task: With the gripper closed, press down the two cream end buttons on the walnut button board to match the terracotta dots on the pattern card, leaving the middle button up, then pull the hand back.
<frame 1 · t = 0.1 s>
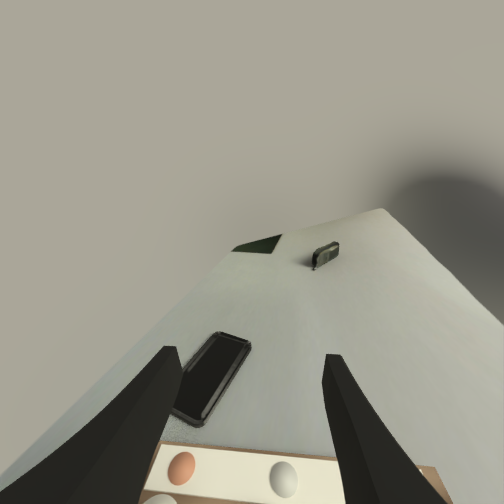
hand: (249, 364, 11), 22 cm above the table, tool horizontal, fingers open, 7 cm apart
pattern card: (283, 480, 22), resting on button board
mobile phone: (324, 262, 71), on the table
phone: (210, 373, 36), on the table
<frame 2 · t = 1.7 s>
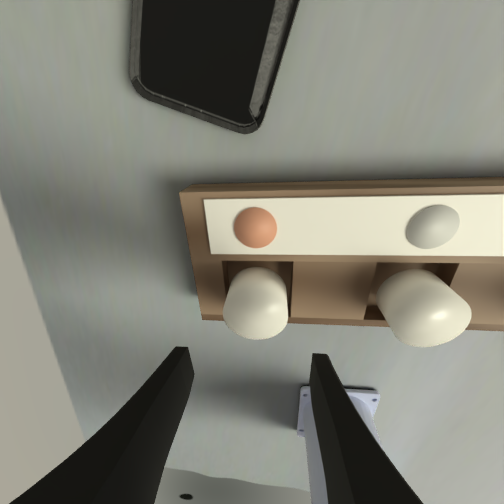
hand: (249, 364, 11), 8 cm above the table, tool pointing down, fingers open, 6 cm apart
end button 1: (256, 302, 15), point 4 cm above the table, slide at 0.0 cm
pattern card: (429, 226, 13), resting on button board
middle button: (418, 307, 14), point 4 cm above the table, slide at 0.0 cm
button board: (397, 250, 17), on the table
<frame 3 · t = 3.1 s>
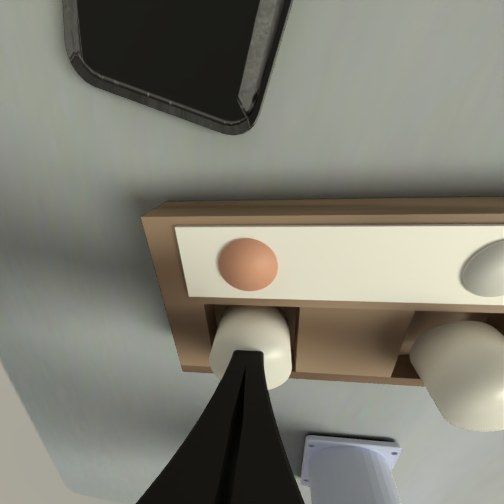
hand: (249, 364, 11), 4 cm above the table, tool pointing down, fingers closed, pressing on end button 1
end button 1: (252, 344, 12), point 3 cm above the table, slide at 1.1 cm, touching gripper
pattern card: (495, 266, 9), resting on button board
middle button: (473, 374, 10), point 4 cm above the table, slide at 0.0 cm
button board: (434, 286, 13), on the table
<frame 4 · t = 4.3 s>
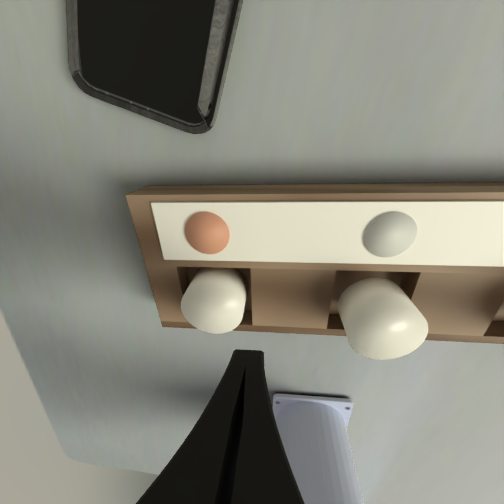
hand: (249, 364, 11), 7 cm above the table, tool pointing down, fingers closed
end button 1: (216, 298, 16), point 3 cm above the table, slide at 1.3 cm
pattern card: (387, 233, 12), resting on button board
middle button: (377, 318, 13), point 4 cm above the table, slide at 0.0 cm
button board: (362, 257, 16), on the table
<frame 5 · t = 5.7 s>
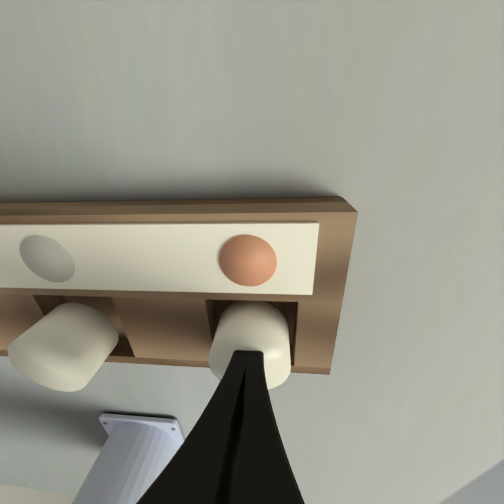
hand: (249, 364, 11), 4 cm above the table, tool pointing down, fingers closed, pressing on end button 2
pattern card: (51, 257, 12), resting on button board
end button 2: (251, 344, 12), point 3 cm above the table, slide at 0.7 cm, touching gripper
middle button: (68, 346, 13), point 4 cm above the table, slide at 0.0 cm
button board: (103, 276, 15), on the table
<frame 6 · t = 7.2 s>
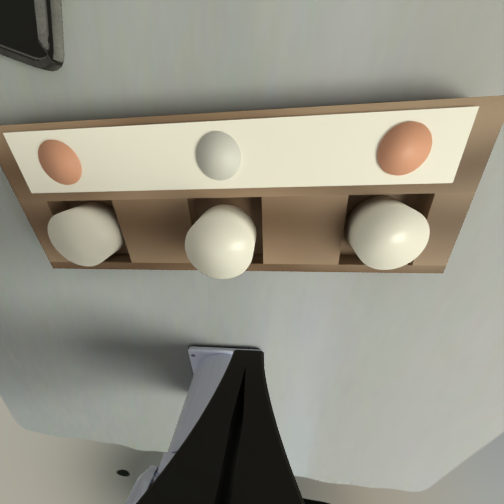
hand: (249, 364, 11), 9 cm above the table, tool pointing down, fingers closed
end button 1: (90, 233, 17), point 3 cm above the table, slide at 1.3 cm
pattern card: (219, 156, 13), resting on button board
end button 2: (382, 232, 14), point 3 cm above the table, slide at 1.3 cm
middle button: (223, 241, 14), point 4 cm above the table, slide at 0.0 cm
button board: (231, 194, 17), on the table
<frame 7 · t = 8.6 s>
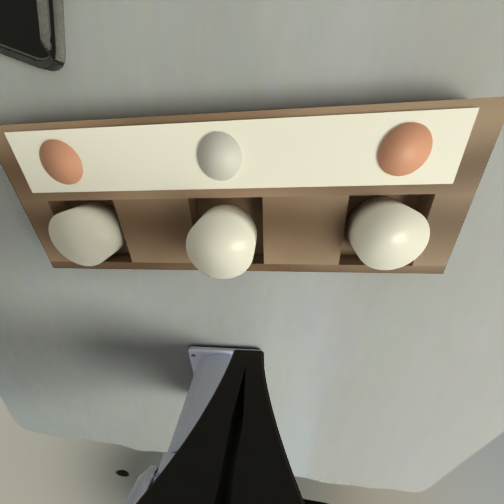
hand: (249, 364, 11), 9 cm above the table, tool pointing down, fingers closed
end button 1: (91, 233, 17), point 3 cm above the table, slide at 1.3 cm
pattern card: (220, 156, 13), resting on button board
end button 2: (383, 232, 15), point 3 cm above the table, slide at 1.3 cm
middle button: (223, 241, 14), point 4 cm above the table, slide at 0.0 cm
button board: (231, 194, 17), on the table
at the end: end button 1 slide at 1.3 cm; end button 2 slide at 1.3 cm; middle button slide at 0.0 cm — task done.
